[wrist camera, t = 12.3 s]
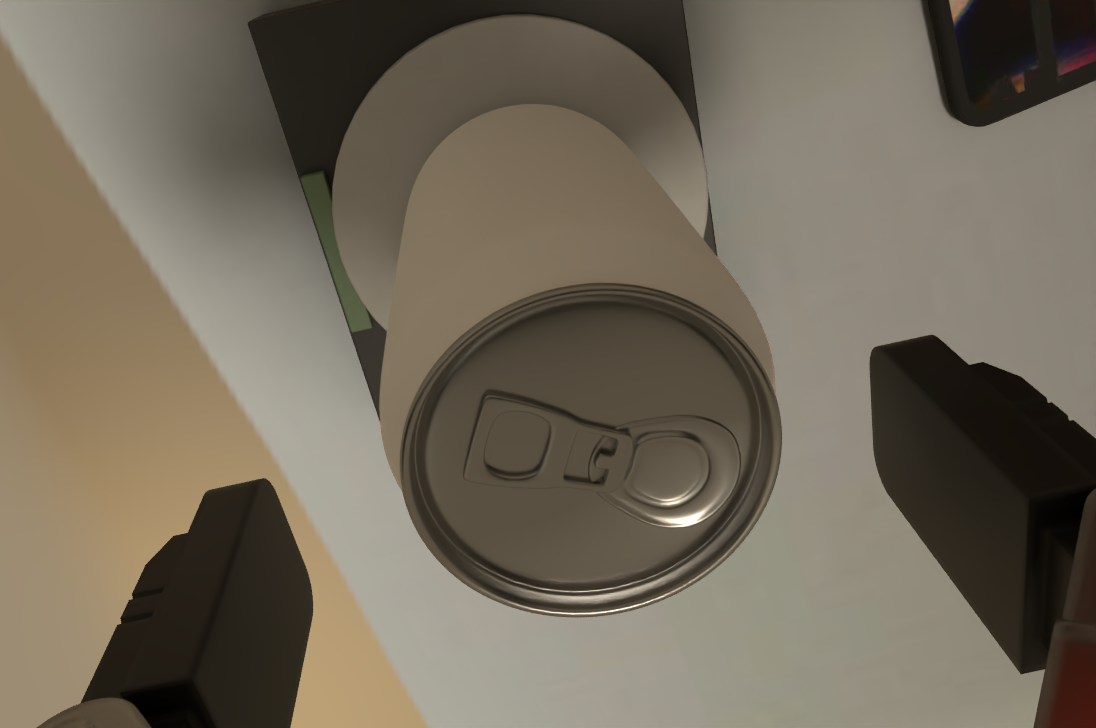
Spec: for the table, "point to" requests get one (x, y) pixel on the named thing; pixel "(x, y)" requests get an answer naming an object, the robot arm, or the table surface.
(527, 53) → the scale
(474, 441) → the can
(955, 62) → the dark brown rounded piece
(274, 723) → the robot arm
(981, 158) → the table surface
